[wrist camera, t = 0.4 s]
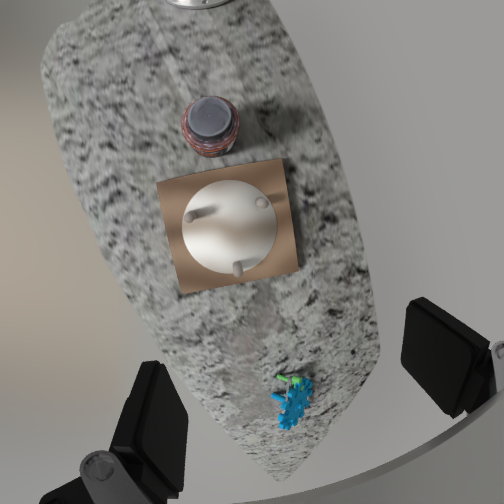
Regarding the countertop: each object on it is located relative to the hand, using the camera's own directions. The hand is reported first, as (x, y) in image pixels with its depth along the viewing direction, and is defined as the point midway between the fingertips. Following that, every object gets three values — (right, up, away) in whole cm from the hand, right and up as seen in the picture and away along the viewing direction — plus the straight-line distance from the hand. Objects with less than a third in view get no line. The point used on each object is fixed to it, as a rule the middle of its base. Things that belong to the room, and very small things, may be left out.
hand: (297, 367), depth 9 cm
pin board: (-5, +7, +27) cm, 28 cm away
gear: (+5, -20, +35) cm, 41 cm away
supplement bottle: (-7, +19, +24) cm, 31 cm away
